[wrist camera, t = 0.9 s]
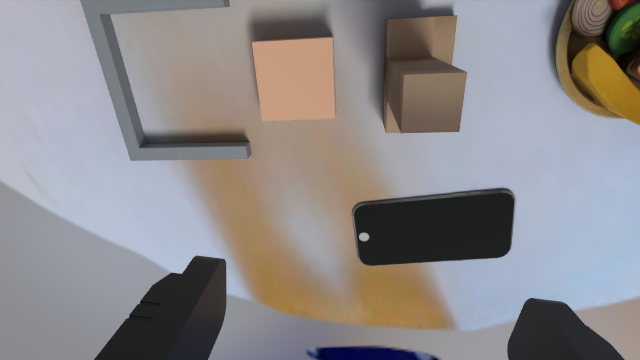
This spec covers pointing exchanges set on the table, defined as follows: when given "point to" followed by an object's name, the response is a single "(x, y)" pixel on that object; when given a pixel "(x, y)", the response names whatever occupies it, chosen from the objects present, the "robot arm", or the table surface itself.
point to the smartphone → (435, 228)
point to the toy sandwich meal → (601, 57)
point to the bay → (97, 9)
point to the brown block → (422, 76)
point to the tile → (296, 78)
